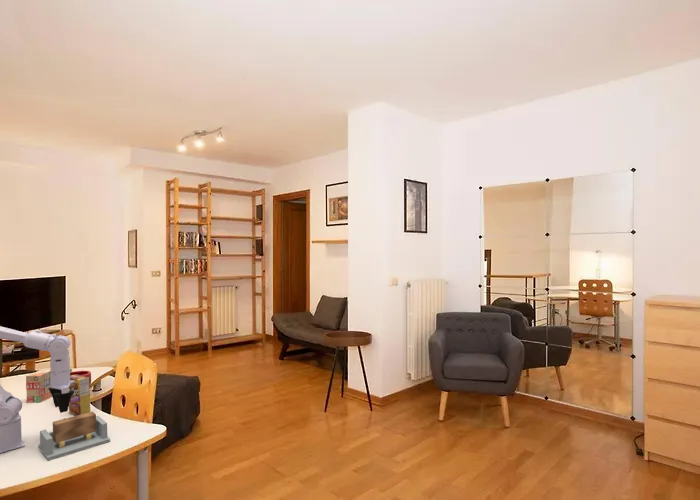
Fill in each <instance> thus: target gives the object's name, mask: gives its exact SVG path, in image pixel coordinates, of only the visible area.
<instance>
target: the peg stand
mask: <svg viewBox="0 0 700 500" xmlns="http://www.w3.org/2000/svg"><path fill="white" fill-rule="evenodd" d="M39 441H40V443H38V445H37V446H38V447H37V448H38V449H39V450H40V452H41V453H42V455H44V457H45V459H46V460H47V461H49V462H50V461H52V460H55V459H58V458H59V459H60V458H62V457H64V456H65V457H66V456H69V455H72V454H74V453H75V454H76V453H78V452H81V451H84V450H87V449H91V448H94V447H98V446H102V445H104V444H107V443H110V442H111V438H110V437H109V436H108V422H106V421H105V420H104V419H103V418H102V417H100V415H96V432H93V433H89V434H86V435H82V436H79V437H75V438H72V439H68V440H65V441H61V442H58V443H55V441H54V440H53V431H50V432H48V431H47V430H46V429H43V430H39Z"/></svg>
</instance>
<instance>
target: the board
mask: <svg viewBox="0 0 700 500" xmlns="http://www.w3.org/2000/svg"><path fill="white" fill-rule="evenodd" d="M96 416H97V414H96V413H95V412H94V411H90V412H89V413H85V414H82V415H78V416H76V415H73V416H71V417H66V418H63V419H59V420H53V421H52V432H53V440H54V441H55V443H58V442H61V441H65V440H68V439H72V438H75V437H79V436H82V435H86V434H89V433H93V432H96Z"/></svg>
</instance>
